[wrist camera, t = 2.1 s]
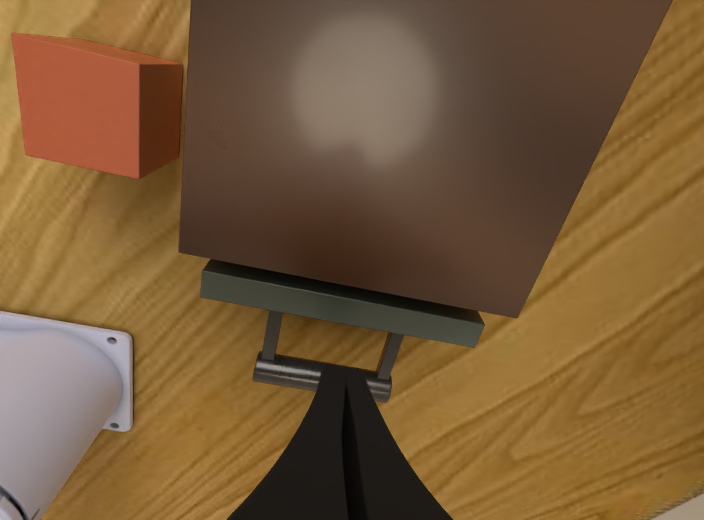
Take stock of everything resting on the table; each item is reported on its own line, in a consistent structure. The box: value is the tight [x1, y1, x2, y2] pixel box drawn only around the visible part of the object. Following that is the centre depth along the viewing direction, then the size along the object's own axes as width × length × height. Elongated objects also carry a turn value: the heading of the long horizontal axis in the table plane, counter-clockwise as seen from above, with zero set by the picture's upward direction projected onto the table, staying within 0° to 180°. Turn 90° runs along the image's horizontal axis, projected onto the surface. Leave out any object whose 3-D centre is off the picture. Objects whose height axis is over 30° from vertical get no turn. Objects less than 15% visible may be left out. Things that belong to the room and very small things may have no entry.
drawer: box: [200, 259, 485, 403], centre depth 17 cm, size 18×11×6 cm, turn 167°
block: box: [12, 33, 183, 179], centre depth 17 cm, size 4×4×4 cm
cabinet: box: [178, 0, 673, 318], centre depth 15 cm, size 14×12×7 cm
